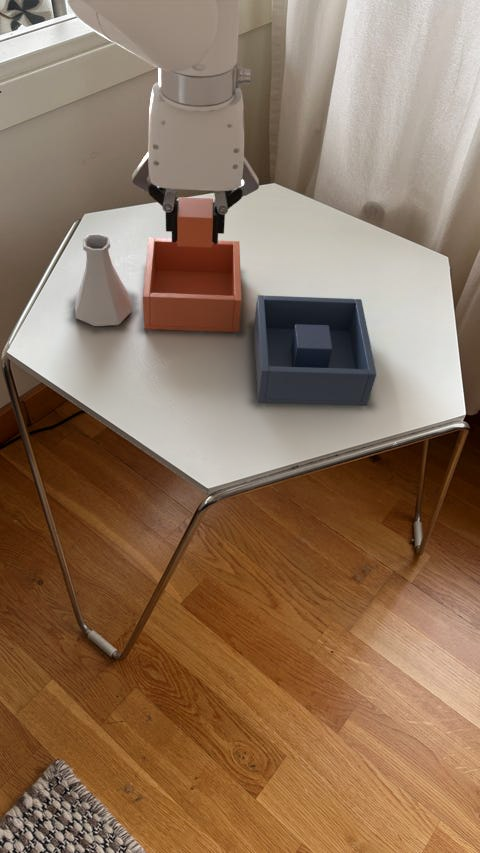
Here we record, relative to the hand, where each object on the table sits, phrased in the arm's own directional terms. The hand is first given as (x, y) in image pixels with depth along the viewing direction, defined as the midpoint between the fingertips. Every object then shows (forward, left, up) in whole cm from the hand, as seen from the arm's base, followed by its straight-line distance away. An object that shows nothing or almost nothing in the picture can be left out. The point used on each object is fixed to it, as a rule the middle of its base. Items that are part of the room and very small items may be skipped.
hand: (195, 234), depth 83 cm
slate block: (+14, -11, -9) cm, 20 cm away
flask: (-11, -2, -10) cm, 15 cm away
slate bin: (+14, -11, -10) cm, 20 cm away
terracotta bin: (0, 0, -10) cm, 10 cm away
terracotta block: (0, 0, 0) cm, 0 cm away
